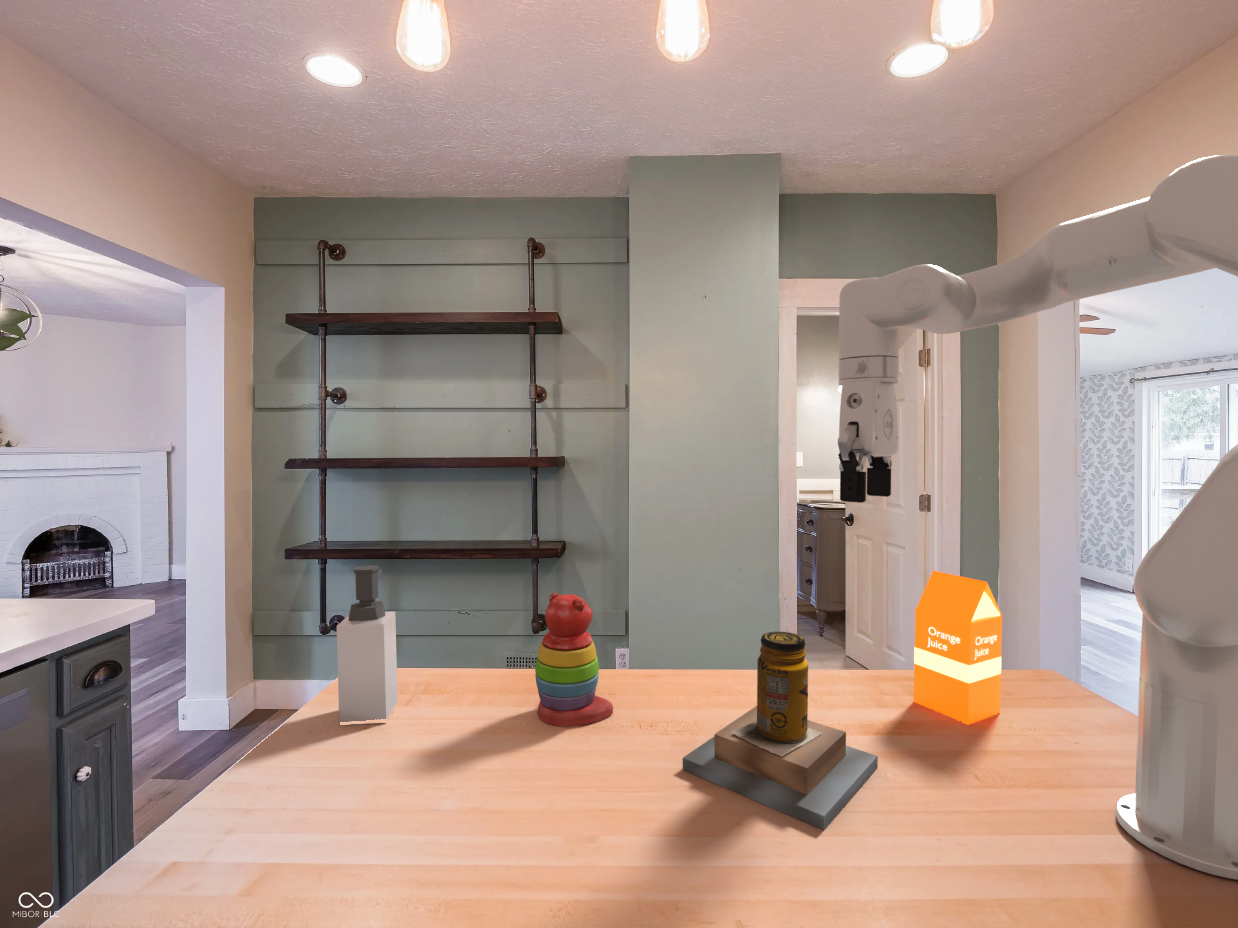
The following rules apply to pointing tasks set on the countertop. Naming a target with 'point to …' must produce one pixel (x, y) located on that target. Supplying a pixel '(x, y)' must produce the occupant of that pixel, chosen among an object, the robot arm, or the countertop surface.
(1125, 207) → the robot arm
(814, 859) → the countertop surface
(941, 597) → the orange juice
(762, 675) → the condiment
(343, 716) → the soap dispenser
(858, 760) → the plinth
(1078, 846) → the countertop surface
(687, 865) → the countertop surface
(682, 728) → the countertop surface
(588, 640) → the stacking bear
